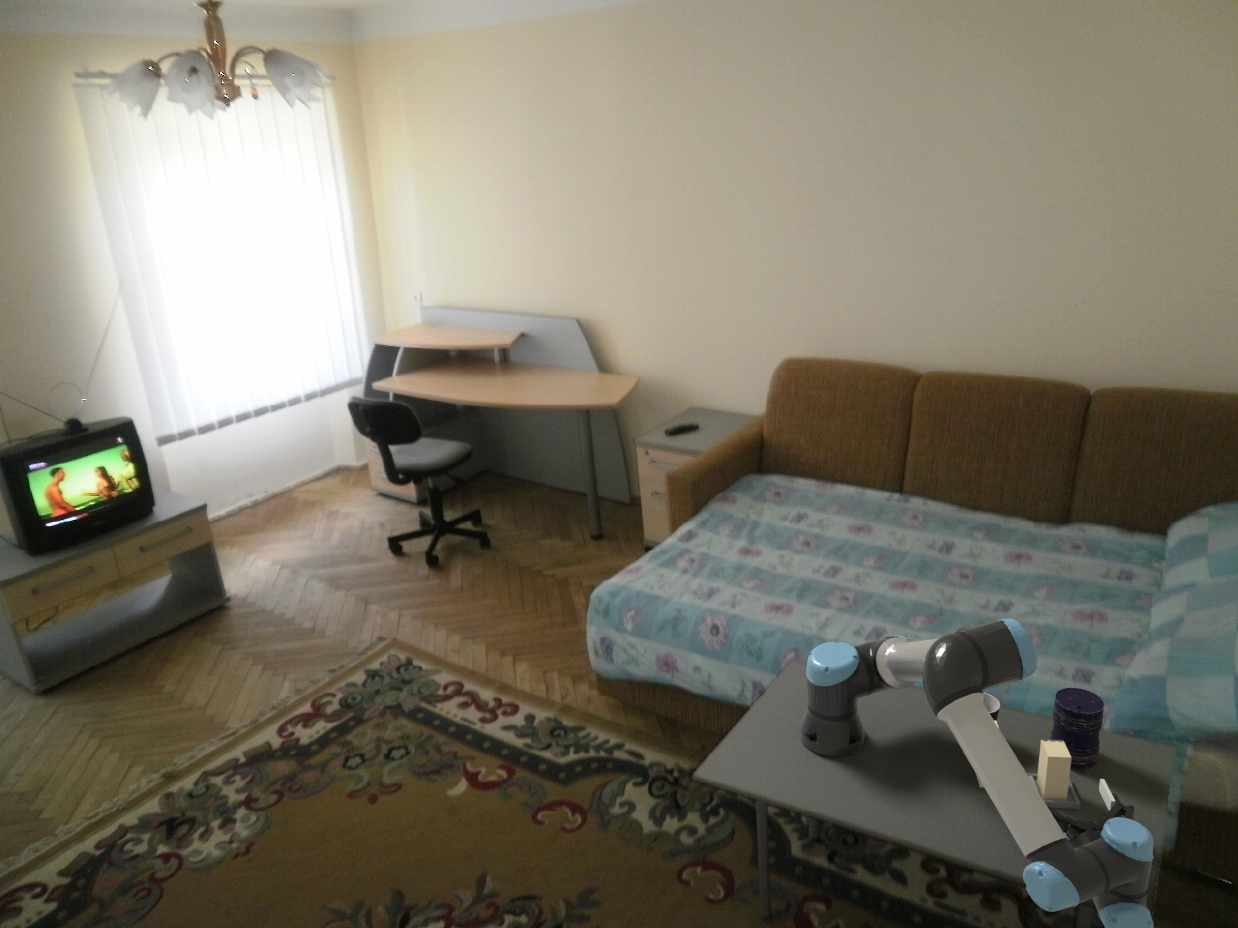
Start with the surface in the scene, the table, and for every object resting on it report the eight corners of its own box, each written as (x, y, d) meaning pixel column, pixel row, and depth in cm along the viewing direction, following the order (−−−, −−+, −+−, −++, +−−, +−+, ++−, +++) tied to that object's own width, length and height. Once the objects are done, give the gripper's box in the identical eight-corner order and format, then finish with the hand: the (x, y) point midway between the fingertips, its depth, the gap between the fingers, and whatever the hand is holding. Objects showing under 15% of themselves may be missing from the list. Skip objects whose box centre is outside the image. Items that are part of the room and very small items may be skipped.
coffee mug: (991, 727, 214) (993, 691, 210) (1002, 749, 205) (1005, 713, 202) (940, 727, 215) (942, 691, 212) (949, 749, 207) (952, 713, 203)
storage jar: (1050, 738, 208) (1055, 683, 203) (1097, 748, 204) (1104, 692, 199) (1047, 764, 200) (1053, 707, 195) (1097, 775, 195) (1104, 717, 190)
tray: (1034, 806, 188) (1034, 801, 187) (1023, 778, 196) (1023, 772, 196) (1080, 809, 186) (1080, 803, 186) (1067, 780, 194) (1068, 775, 194)
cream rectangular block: (1043, 799, 189) (1048, 755, 185) (1036, 782, 194) (1041, 739, 190) (1066, 800, 188) (1071, 756, 184) (1058, 783, 193) (1063, 740, 189)
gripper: (1025, 872, 165) (999, 794, 185) (1172, 881, 161) (1129, 801, 180) (1028, 839, 163) (1001, 764, 183) (1178, 848, 158) (1134, 770, 178)
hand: (1065, 782), depth 182 cm, fingers open, 13 cm apart
